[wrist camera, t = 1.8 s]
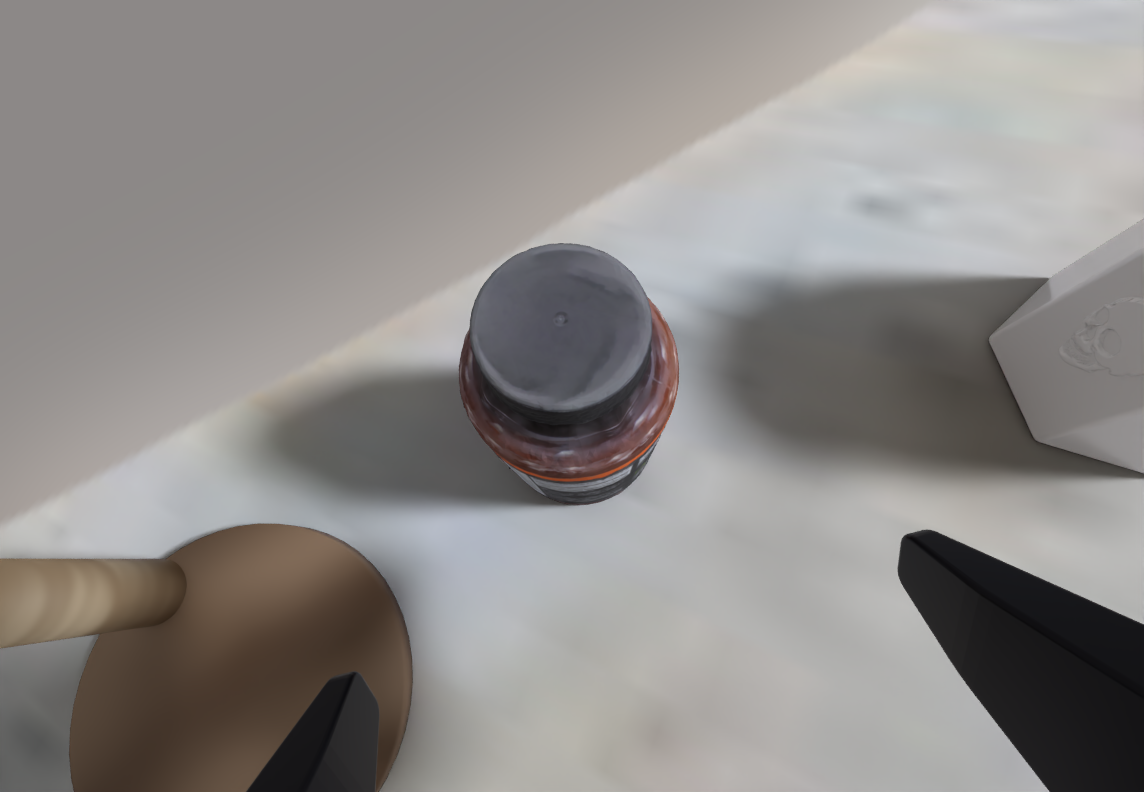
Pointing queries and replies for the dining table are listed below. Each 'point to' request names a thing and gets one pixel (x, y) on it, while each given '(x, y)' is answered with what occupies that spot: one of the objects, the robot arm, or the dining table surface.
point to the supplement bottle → (568, 371)
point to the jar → (1083, 354)
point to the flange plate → (211, 652)
